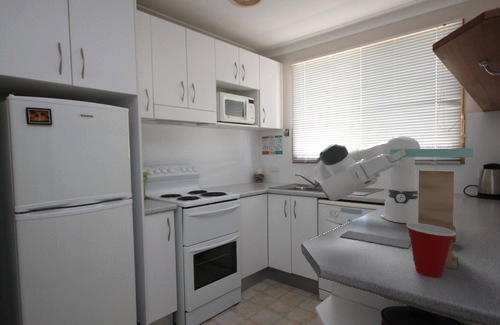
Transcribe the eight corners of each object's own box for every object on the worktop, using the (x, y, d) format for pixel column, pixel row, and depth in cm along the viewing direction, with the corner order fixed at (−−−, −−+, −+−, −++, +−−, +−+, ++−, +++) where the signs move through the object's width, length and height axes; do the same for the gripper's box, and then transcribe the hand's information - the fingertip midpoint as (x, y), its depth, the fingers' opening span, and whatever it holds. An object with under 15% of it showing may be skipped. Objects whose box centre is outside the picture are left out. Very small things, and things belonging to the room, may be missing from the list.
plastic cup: (467, 281, 65) (468, 232, 65) (424, 283, 65) (425, 233, 64) (433, 263, 76) (434, 221, 76) (396, 264, 75) (397, 221, 75)
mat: (347, 231, 108) (347, 230, 108) (411, 242, 95) (411, 240, 95) (340, 237, 101) (340, 235, 101) (408, 249, 88) (408, 248, 88)
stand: (417, 249, 87) (418, 169, 87) (456, 256, 81) (458, 169, 81) (413, 260, 78) (414, 170, 78) (456, 269, 72) (458, 171, 72)
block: (392, 156, 88) (392, 149, 88) (472, 157, 76) (472, 148, 76) (390, 157, 85) (390, 149, 85) (473, 157, 73) (473, 148, 73)
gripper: (377, 178, 98) (416, 160, 91) (362, 183, 82) (408, 161, 75) (368, 163, 100) (405, 144, 93) (351, 165, 84) (395, 141, 76)
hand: (406, 151), depth 84 cm, fingers closed on block, 4 cm apart
